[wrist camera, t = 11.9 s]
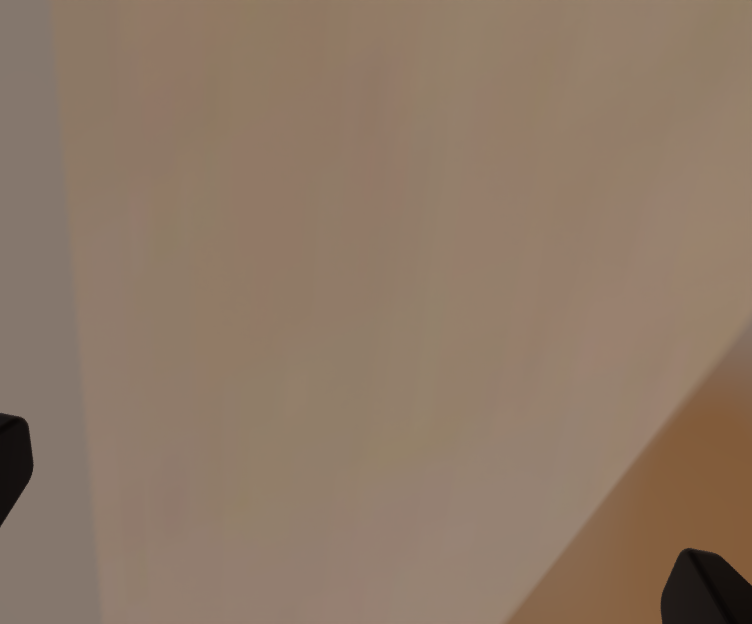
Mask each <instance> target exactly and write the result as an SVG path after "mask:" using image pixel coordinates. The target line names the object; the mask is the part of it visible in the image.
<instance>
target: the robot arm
mask: <svg viewBox="0 0 752 624" xmlns="http://www.w3.org/2000/svg"><path fill="white" fill-rule="evenodd" d="M32 472H33V456H32V448H31V441H30V433H29V426H28V423H27V422H26V420H25V419H23V418H22V417H19V416H14V415H8V414H4V413H0V527H1V525H2V524H3V522H4V520H5V519H6V517H7V516H8V514H9V512H10V511H11V509H12V508H13V506H14V504H15V503H16V501H17V500H18V498H19V497H20V495H21V493H22V492H23V490H24V489H25V487H26V485H27V484H28V482H29V480H30V478H31V475H32ZM661 617H662V624H752V585H751V584H750V583H748V582H747V581H746V580H745V579H744V578H743V577H742V576H741V575H740V574H739V573H738V572H737V571H736V570H735V569H734V568H733V567H732V566H731V565H730V564H729V563H728V562H726V561H725V560H724V559H723V558H722V557H721V556H719V555H718V554H716V553H712V552H708V551H702V550H697V549H692V548H687V549H684V550H682V551H681V552H680V554H679V556H678V558H677V560H676V562H675V564H674V567H673V569H672V571H671V574H670V576H669V578H668V581H667V583H666V585H665V587H664V590H663V592H662V597H661Z"/></svg>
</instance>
